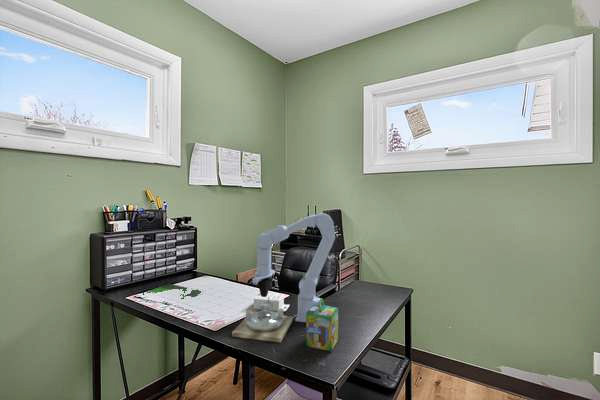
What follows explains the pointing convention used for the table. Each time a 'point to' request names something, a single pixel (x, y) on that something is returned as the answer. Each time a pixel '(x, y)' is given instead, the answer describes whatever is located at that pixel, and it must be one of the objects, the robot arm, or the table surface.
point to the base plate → (267, 336)
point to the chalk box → (322, 326)
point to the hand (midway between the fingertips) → (264, 296)
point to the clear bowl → (264, 319)
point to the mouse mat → (171, 286)
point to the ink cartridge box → (270, 302)
